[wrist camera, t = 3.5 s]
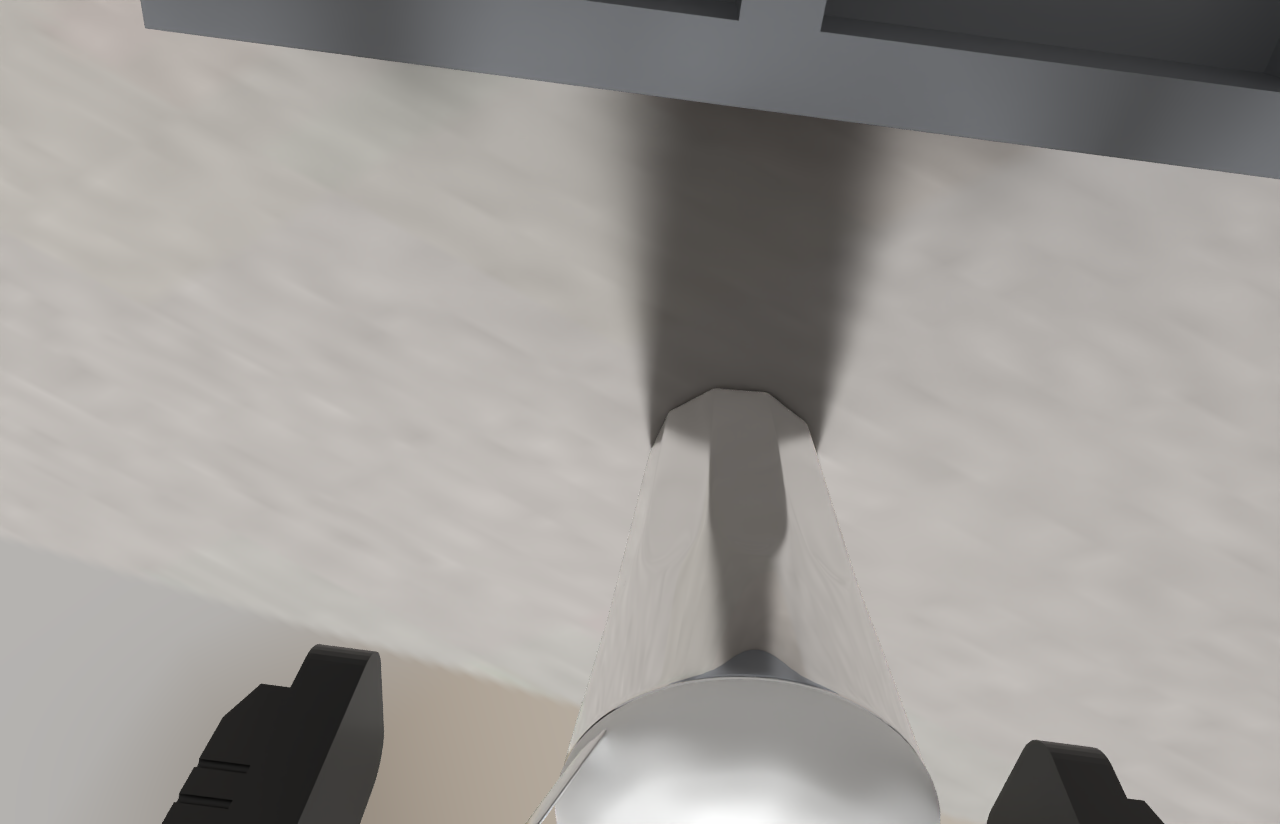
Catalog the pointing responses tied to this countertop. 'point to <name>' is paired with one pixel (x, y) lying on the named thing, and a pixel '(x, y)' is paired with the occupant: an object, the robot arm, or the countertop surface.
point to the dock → (849, 61)
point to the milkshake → (739, 647)
